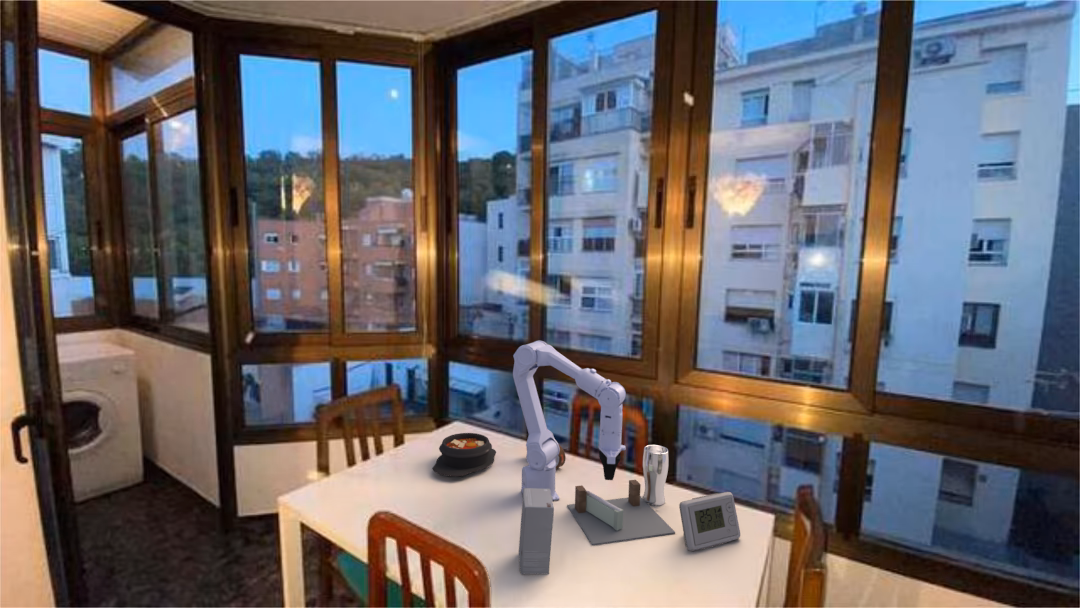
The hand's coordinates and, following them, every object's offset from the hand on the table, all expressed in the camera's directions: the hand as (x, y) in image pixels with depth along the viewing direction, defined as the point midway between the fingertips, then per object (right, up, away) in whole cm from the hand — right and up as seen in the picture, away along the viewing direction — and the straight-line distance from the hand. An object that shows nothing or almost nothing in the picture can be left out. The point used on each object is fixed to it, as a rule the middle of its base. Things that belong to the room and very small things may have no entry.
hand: (608, 479), depth 131 cm
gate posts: (0, -9, +3) cm, 10 cm away
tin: (-17, -6, +30) cm, 35 cm away
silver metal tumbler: (+14, -9, +8) cm, 18 cm away
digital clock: (+23, -11, -12) cm, 28 cm away
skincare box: (-19, -11, -22) cm, 31 cm away
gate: (-2, -9, -4) cm, 10 cm away
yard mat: (+2, -10, -3) cm, 10 cm away
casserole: (-43, -6, +29) cm, 52 cm away
